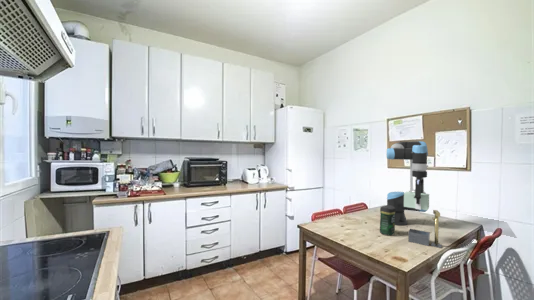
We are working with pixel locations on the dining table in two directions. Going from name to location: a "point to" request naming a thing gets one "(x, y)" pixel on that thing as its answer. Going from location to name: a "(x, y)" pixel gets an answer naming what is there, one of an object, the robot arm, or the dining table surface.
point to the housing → (420, 238)
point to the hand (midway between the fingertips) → (419, 207)
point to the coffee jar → (387, 220)
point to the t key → (436, 224)
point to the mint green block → (410, 200)
